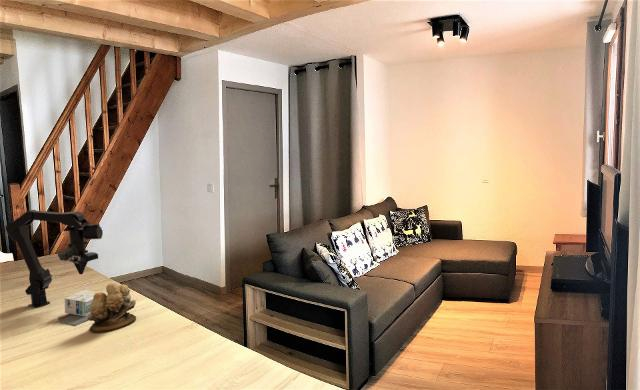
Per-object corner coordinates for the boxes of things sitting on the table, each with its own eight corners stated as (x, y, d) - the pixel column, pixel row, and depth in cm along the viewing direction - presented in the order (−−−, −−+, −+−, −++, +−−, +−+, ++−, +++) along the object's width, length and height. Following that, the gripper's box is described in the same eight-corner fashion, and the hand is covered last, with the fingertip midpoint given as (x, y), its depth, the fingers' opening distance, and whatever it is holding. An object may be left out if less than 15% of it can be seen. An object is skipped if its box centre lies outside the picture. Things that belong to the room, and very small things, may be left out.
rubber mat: (58, 321, 180) (57, 320, 180) (98, 306, 195) (98, 305, 195) (75, 325, 174) (75, 324, 174) (115, 309, 190) (114, 308, 190)
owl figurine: (131, 314, 185) (127, 274, 182) (143, 321, 176) (140, 280, 174) (84, 328, 172) (80, 285, 170) (95, 337, 164) (91, 292, 162)
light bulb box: (64, 313, 185) (85, 317, 182) (63, 297, 184) (85, 301, 181) (83, 303, 195) (104, 307, 192) (83, 289, 194) (104, 292, 191)
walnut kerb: (58, 320, 181) (57, 317, 181) (93, 306, 195) (93, 304, 195) (59, 320, 181) (59, 318, 181) (95, 306, 195) (95, 304, 195)
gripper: (46, 242, 195) (50, 277, 197) (73, 245, 186) (77, 281, 188) (70, 237, 205) (74, 270, 207) (97, 240, 196) (100, 274, 198)
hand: (81, 274), depth 200 cm, fingers closed
